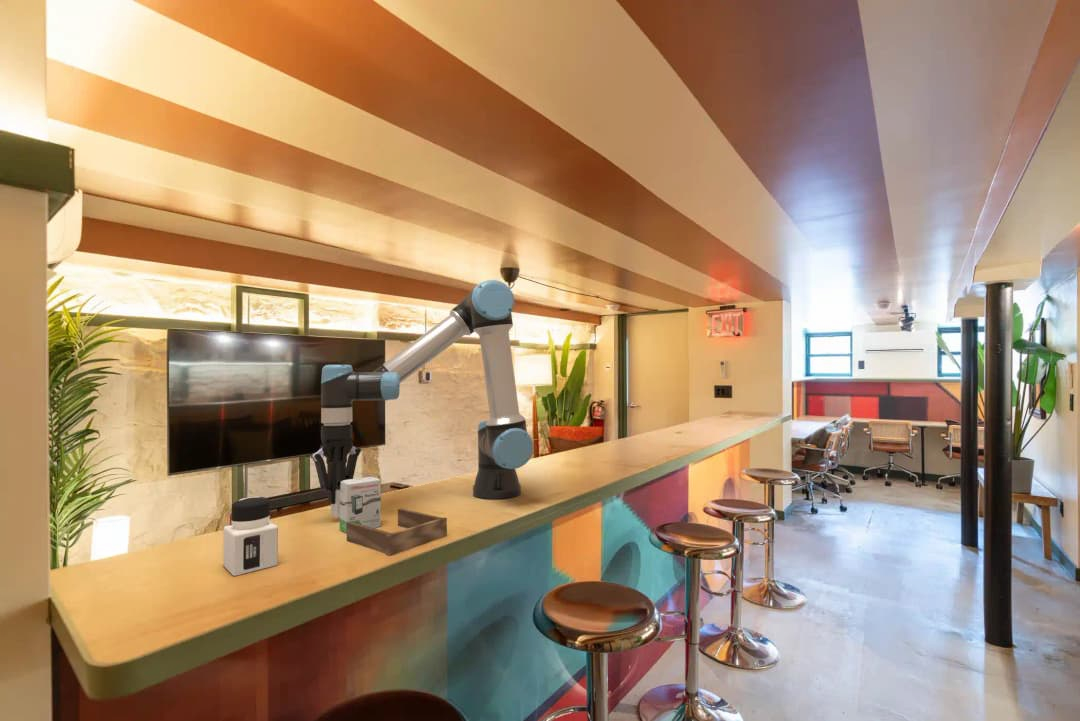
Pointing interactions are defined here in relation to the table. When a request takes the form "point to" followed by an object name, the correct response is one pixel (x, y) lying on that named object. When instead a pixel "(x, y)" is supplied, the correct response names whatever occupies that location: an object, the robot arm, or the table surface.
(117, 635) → the table surface
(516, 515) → the table surface
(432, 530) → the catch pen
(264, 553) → the container
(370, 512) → the ink box
